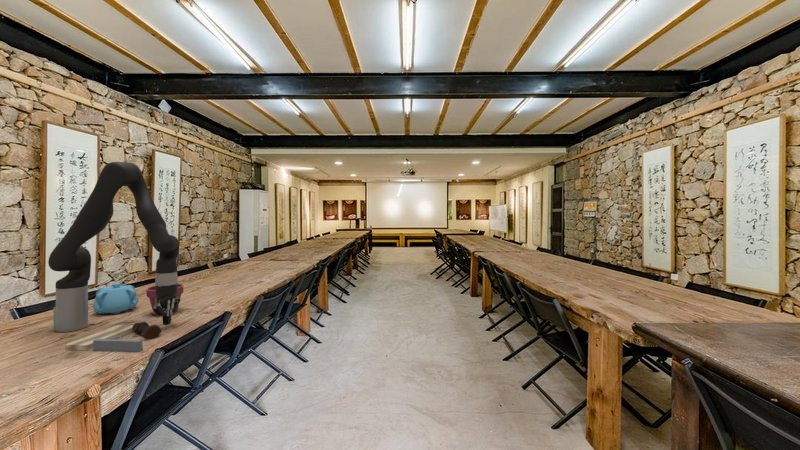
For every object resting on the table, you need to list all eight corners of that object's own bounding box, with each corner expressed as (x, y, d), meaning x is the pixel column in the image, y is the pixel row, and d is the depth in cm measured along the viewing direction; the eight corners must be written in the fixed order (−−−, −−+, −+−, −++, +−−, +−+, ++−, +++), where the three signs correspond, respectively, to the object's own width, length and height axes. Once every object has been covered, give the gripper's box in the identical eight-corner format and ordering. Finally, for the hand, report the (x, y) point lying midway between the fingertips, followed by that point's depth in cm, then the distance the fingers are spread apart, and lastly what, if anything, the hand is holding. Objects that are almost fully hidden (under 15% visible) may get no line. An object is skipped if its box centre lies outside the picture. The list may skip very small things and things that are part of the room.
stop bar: (93, 350, 109) (93, 340, 109) (97, 348, 111) (97, 338, 111) (138, 351, 109) (138, 341, 109) (142, 349, 110) (142, 339, 110)
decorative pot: (137, 312, 152) (137, 284, 152) (90, 318, 142) (90, 288, 142) (138, 305, 165) (139, 279, 165) (96, 309, 155) (96, 282, 155)
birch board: (65, 349, 109) (65, 344, 109) (117, 329, 129) (117, 325, 129) (87, 350, 109) (87, 345, 109) (137, 329, 129) (137, 325, 129)
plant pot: (144, 319, 143) (144, 291, 142) (148, 311, 154) (148, 285, 154) (183, 314, 150) (183, 287, 150) (183, 307, 162) (183, 282, 162)
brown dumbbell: (139, 335, 129) (155, 342, 121) (125, 332, 125) (141, 339, 117) (147, 320, 132) (164, 326, 124) (134, 317, 128) (150, 323, 120)
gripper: (170, 279, 138) (170, 319, 139) (144, 286, 125) (144, 329, 126) (186, 280, 138) (186, 319, 138) (162, 286, 125) (163, 330, 125)
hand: (166, 324), depth 132 cm, fingers closed
